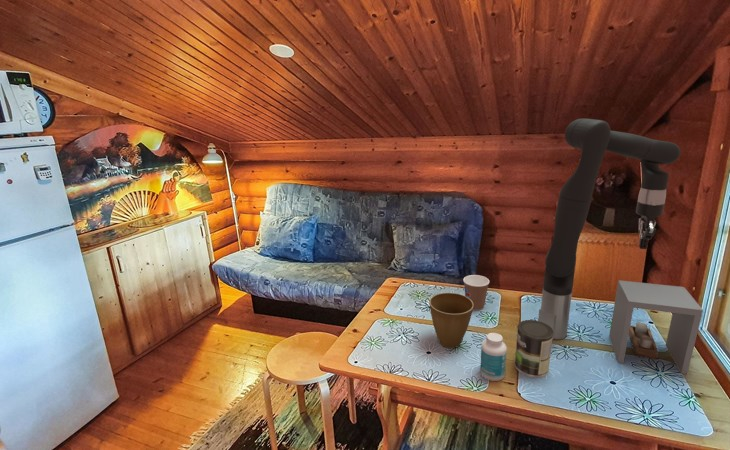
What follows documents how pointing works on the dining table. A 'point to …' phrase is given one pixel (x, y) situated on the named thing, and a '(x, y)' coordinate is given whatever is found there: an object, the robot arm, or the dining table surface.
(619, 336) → the grey hollow frame
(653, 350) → the tray
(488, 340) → the pill bottle
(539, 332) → the coffee can
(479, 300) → the coffee cup
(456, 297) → the plant pot
